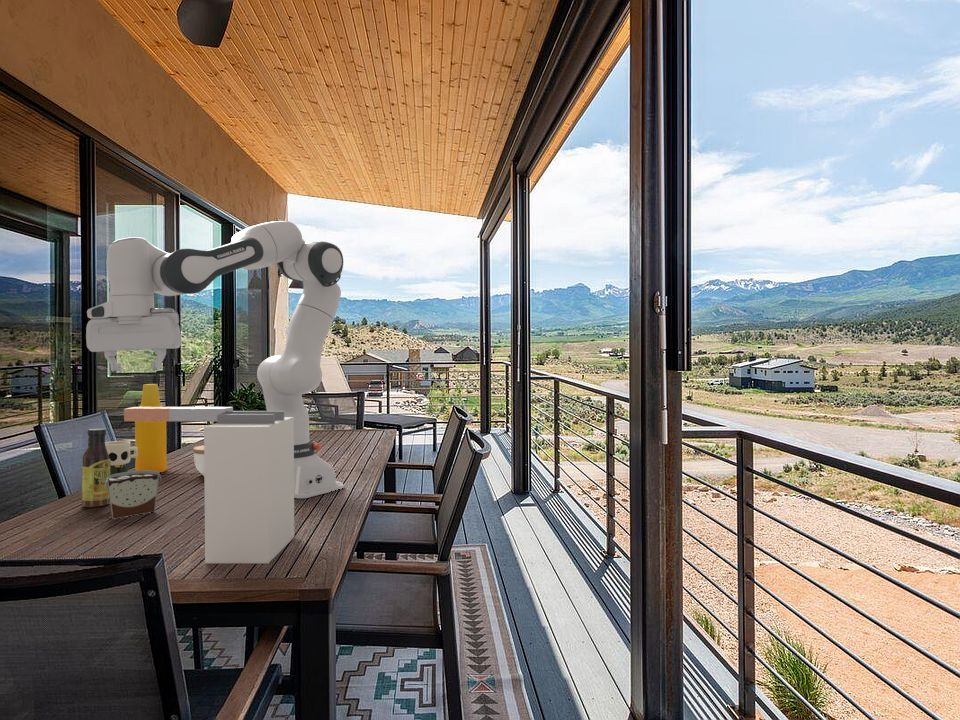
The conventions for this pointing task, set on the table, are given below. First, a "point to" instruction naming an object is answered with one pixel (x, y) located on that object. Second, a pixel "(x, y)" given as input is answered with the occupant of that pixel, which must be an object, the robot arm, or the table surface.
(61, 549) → the table surface
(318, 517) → the table surface
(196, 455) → the lidded bowl
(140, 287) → the robot arm
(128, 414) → the knife
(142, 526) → the table surface
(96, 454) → the sauce bottle
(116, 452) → the character mug
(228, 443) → the stand
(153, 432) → the yellow bottle
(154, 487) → the half round cake
